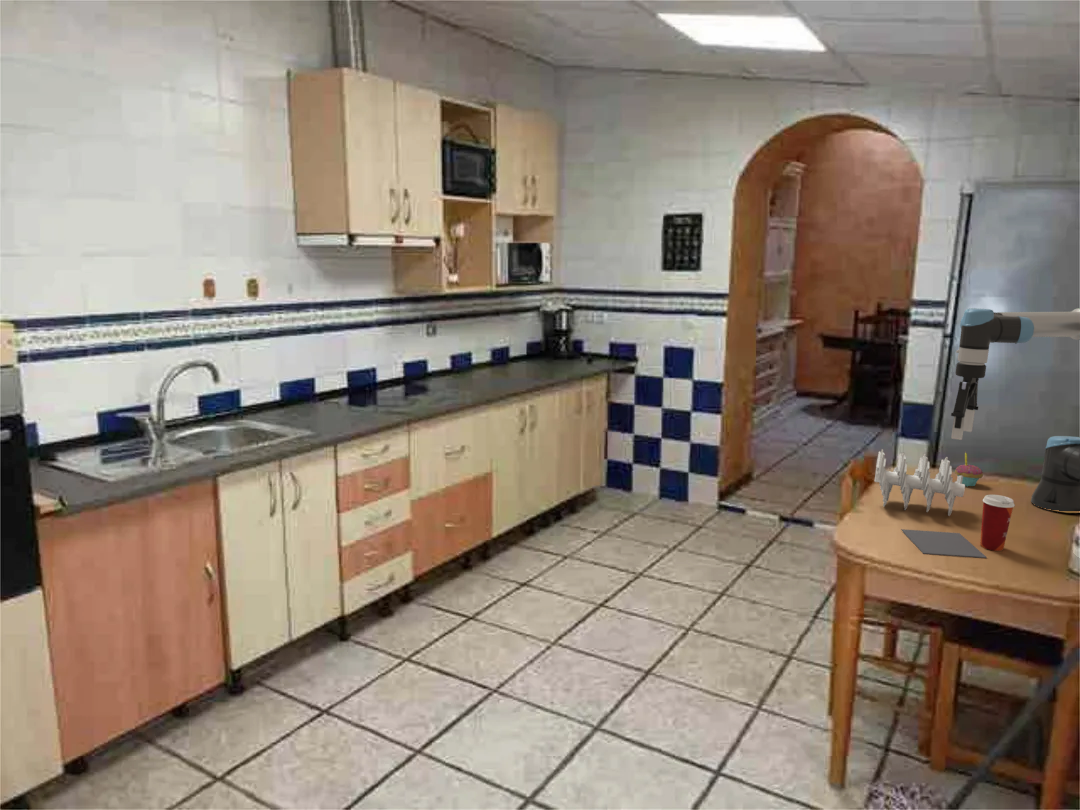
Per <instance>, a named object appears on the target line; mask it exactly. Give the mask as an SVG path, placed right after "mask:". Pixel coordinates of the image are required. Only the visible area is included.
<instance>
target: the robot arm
mask: <svg viewBox="0 0 1080 810" xmlns="http://www.w3.org/2000/svg"><path fill="white" fill-rule="evenodd" d="M959 326H960V336H959V337H960V338H959V346H958V347H959V349H957V350H956V351H955V352H956V354H957V361H958V362H957V363H956V368H955V375H956V376H957V377H961V378H962V381H959V383H958V390H957V395H956V399H955V403H954V408H953V411H952V412H951V414H950V416H951V417H953V423H952V431H951V435H950V436H951V438H950V439H952V440H960V441H962V440H963V437H964V435H963V434H964V432H968V433H972V432H973V428H974V427H973V426H974V422H975V421H974V420H975V414H976V413H975V412H976V411H978V410H979V406H978V388H979V387H978V386H979V380H980V379H983V378H985V376H986V371H987V365H986V364H987V363H988V360H989V359H988V358H989V352H990V345H991V343H993V344H994V343H1002V344H1003V343H1004V344H1005V343H1006V344H1015V345H1017V344H1024V343H1028V342H1029V341H1030V340H1031V339H1032V338H1056V337H1057V338H1058V337H1059V338H1066V337H1067V338H1071V339H1072V340H1075V341H1080V308H1075V309H1073V310H1071V311H1011V312H1010V311H1007V312H1006V311H1004V312H1003V311H1001V312H1000V311H999V312H995V311H994V310H993V309H989V308H975V307H974V308H973V307H972V308H971V307H970V308H966V309H965V311H964V312H963V315H962V317H961V320H960V324H959ZM1044 448H1045V450H1044V458H1043V464H1042V470H1041V478H1040V481H1039V483H1038V484H1037V486H1036V488H1035V489H1034V491H1033V493H1032V495H1031V500H1030V503H1031V502H1032V503H1033V504H1035V505H1036V506H1035V505H1034V506H1035V507H1037V506H1039V507H1042V508H1046V509H1051V510H1059V511H1080V436H1069V435H1054V436H1050V437H1049V438H1047V442H1046V446H1045V447H1044ZM1032 503H1031V504H1032ZM1033 504H1032V505H1033ZM1039 507H1038V508H1039ZM1042 508H1041V509H1042Z"/></svg>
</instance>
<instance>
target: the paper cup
mask: <svg viewBox="0 0 1080 810" xmlns="http://www.w3.org/2000/svg"><path fill="white" fill-rule="evenodd" d="M982 503H983V504H982V505H983V506H982V515H981V529H980V539H979V540H980V541H979V543H980V544H979V546H980V547H981V548H982V549H985V550H989V551H992V552H993V551H994V552H1000V551H1002V552H1003V550H1004V548H1005V544H1006V540H1007V535H1008V531H1009V528H1010V527H1009V526H1010V522H1011V520H1012V519H1011V517H1012V514H1013V511H1014V507H1015V502H1014V499H1013V498H1011V497H1008V496H1005V495H1000V494H986V495H985V496H984V498H983V499H982Z"/></svg>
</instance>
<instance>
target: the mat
mask: <svg viewBox="0 0 1080 810" xmlns="http://www.w3.org/2000/svg"><path fill="white" fill-rule="evenodd" d="M901 530H902V531H903V532H902V531H901ZM900 531H901V532H902V533H903V534H904V535H905V536H906V538H908V539H909V540H910V542H912V544H913V545H914V544H915V545H916V546H915V547H916V548H917V549H918V550H919V551H920V552H921V553H922V554H923V555H933V556H934V555H935V556H947V557H948V556H949V557H950V556H951V557H960V558H961V557H963V558H964V557H965V558H975V559H976V558H979V559H987V556H986V554H984V553H983V552H982V551H980V550H979V549H978V548H977V547H976V546H975V545H974V544H972V543H971V542H970V541H969V540H968V539H967V538H965V536H963V535H962V534H961V533H960V532H949V531H946V532H945V531H933V530H918V529H902V528H901V529H900Z"/></svg>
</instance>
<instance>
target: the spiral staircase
mask: <svg viewBox="0 0 1080 810" xmlns="http://www.w3.org/2000/svg"><path fill="white" fill-rule="evenodd" d="M885 455H886V454H885V452H884V449H883V448H881V451H878V454H877V459H876V465H875V467H876V468H875V475H874V482H875V483H879V485H878V486H879V487H880V488H879V490H881V496H882V502H883V503H882V504H883V506H882V507H886V505H887V504H888V502H889V499H890V494H891V493H892V490H893V486H897V487H899V490H900V494H902V501H903V508H904V509H903V510H904V511H906V510H907V509H908V508H909V506H908V505H909V504H910V500H911V496H912V494H913V491H914V489H915V490H920V491H923V492H922V495H923V496H924V498H925V499H926V513H928V512H929V510H930V509H931V506H932V502H933V499H934V496H935V493H936V494H941V495H942V494H943V495H944V499H945V501H946V503H947V504H948V505H947V506H948V511H947V516H949V517H951V514H952V512H953V508H954V504H955V503H954V502H955V500H956V497H959V498H964V495H965V490H966V489H965V488H966V486H965V484H962V480H963V476H962V475H961V476H958V475H957V476H956V477H957V478H956V481H954V482H953V480H954V479H953V476H952V471H953V468H952V465H951V461H950V460H948V459H949V458H948V456H945V458H944V459H941V461H940V465H939V468H938V473H937V474H935V478H931V471H930V461H929V458H928V457H927V456H926V455H927V454H926V453H923V456H922V457H919V461H918V465H917V468H915V471H914V474H913V475H912V474H907V470H908V469H907V468H908V462H906V460H907V458H906V455H905V452H902V453H899V455H898V460H897V466H896V467H894V468H893V471H890V470H887V469H886V464H887V463H886V462H887V457H885Z"/></svg>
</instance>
